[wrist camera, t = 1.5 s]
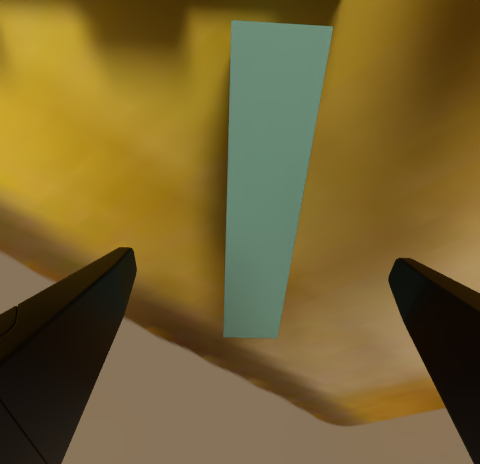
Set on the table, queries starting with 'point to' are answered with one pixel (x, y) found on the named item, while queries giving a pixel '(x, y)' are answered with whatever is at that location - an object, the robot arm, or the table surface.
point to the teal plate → (267, 164)
